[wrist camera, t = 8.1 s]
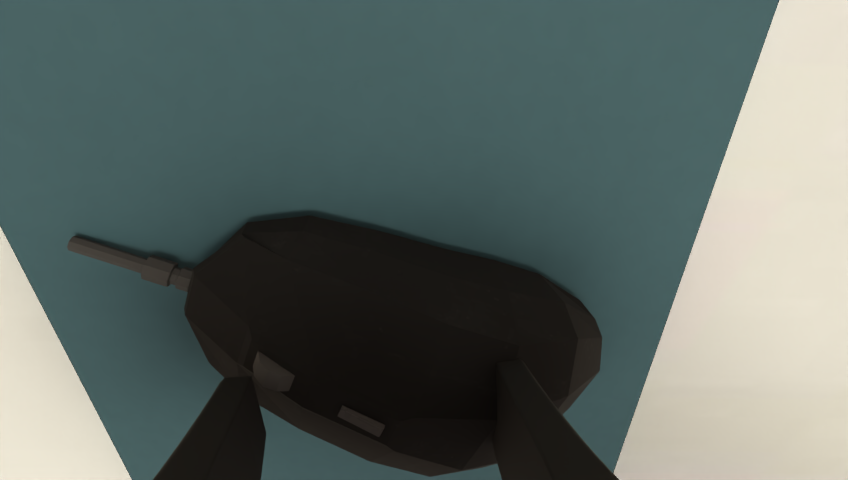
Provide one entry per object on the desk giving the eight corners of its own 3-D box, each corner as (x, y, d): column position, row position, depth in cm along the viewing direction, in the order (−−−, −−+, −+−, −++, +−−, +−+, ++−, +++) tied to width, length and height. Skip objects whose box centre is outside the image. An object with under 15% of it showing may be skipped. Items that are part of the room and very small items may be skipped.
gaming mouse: (84, 122, 11) (-42, 211, 8) (628, 294, 15) (703, 400, 12) (66, 329, 14) (-30, 460, 10) (527, 425, 18) (564, 541, 15)
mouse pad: (596, 506, 22) (599, 512, 22) (172, 545, 20) (169, 553, 20) (848, -229, 9) (861, -233, 9) (-241, -269, 8) (-262, -276, 7)
